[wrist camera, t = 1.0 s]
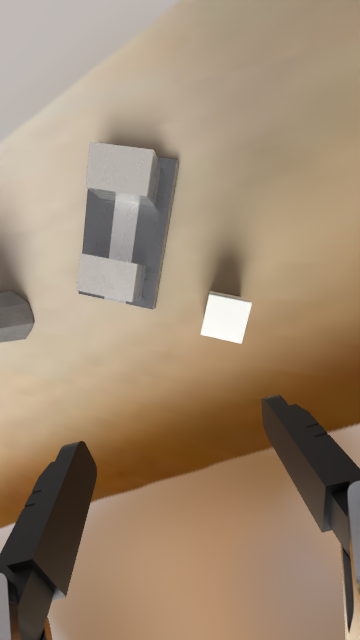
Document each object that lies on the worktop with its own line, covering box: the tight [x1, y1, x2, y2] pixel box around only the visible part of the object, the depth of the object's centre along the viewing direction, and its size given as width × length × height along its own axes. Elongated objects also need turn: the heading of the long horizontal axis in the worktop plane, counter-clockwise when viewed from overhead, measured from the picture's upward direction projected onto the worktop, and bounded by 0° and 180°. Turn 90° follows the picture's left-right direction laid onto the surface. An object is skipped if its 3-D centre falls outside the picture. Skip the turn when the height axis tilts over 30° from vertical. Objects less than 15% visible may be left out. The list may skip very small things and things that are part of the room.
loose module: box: [201, 291, 252, 343], centre depth 27 cm, size 4×4×9 cm
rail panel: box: [77, 142, 179, 309], centre depth 29 cm, size 20×12×5 cm, turn 169°
